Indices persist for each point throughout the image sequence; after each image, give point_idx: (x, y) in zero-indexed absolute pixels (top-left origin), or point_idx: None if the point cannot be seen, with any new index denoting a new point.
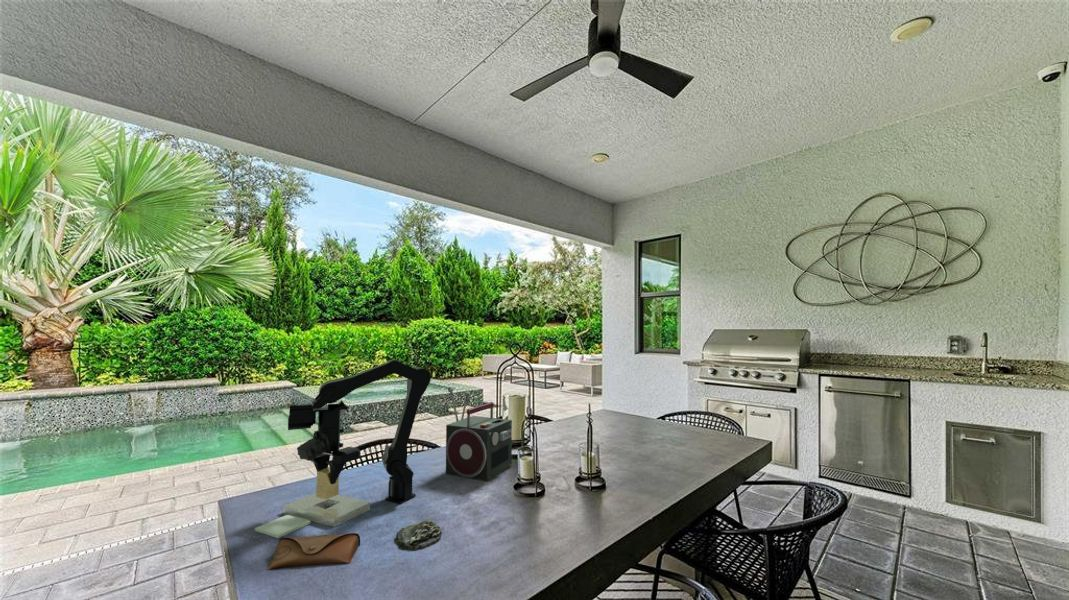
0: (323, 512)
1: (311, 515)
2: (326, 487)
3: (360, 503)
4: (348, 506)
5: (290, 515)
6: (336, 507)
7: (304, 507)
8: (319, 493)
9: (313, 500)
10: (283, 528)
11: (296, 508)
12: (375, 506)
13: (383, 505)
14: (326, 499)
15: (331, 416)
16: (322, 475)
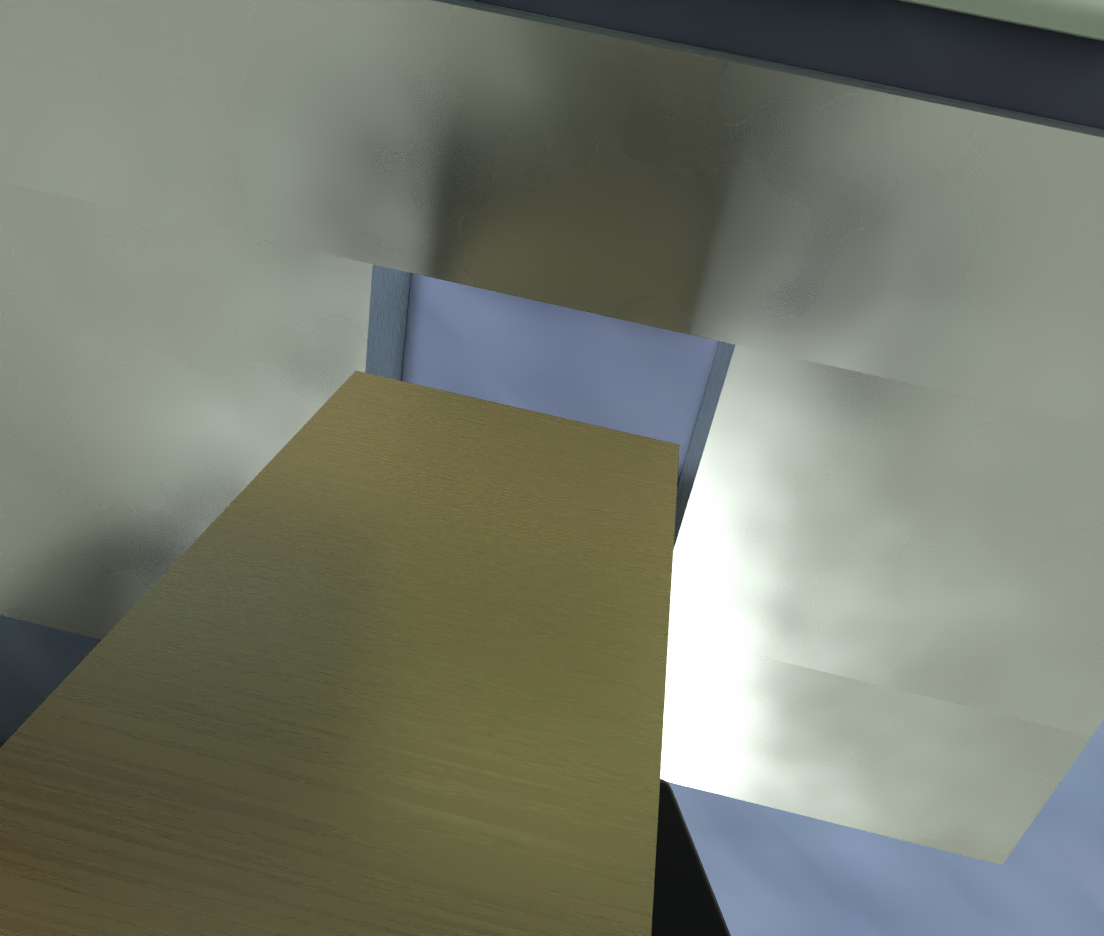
0: (280, 111)
1: (496, 11)
2: (227, 507)
3: (55, 558)
4: (114, 438)
5: (1052, 11)
6: (250, 365)
7: (846, 229)
8: (555, 464)
9: (882, 543)
10: None
11: (1005, 141)
12: (73, 635)
13: (19, 667)
14: (671, 607)
15: None
16: (256, 841)
